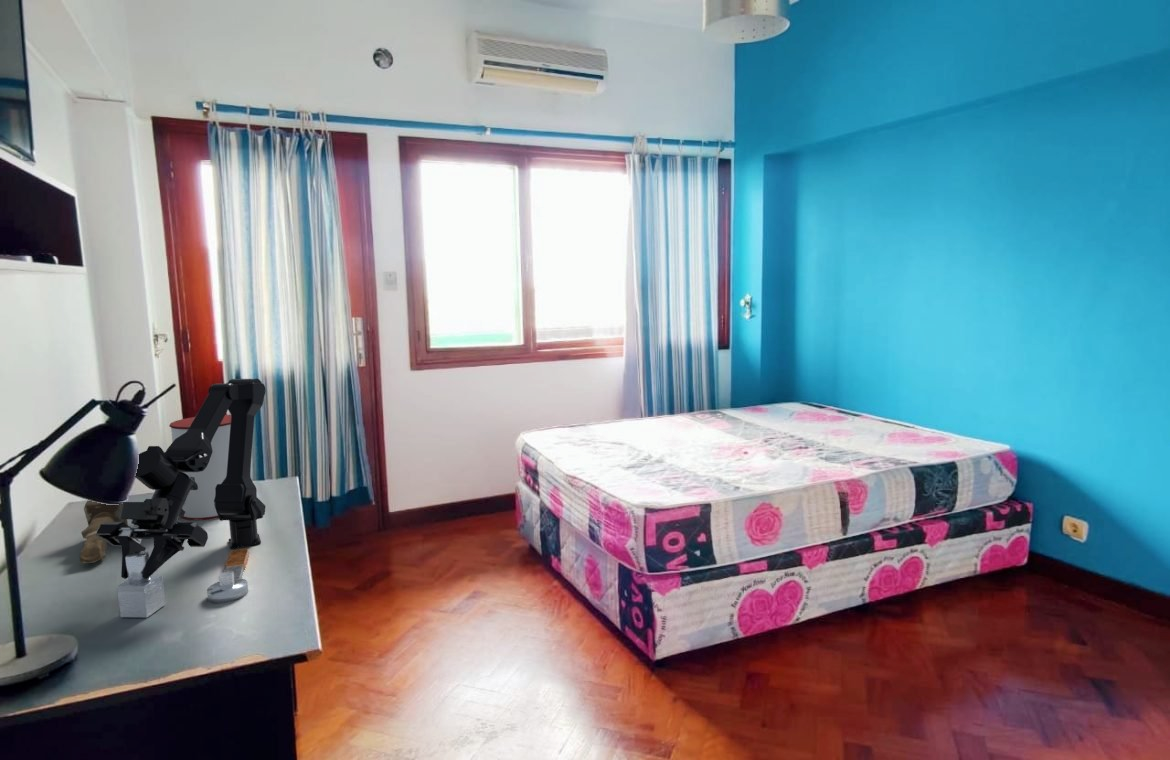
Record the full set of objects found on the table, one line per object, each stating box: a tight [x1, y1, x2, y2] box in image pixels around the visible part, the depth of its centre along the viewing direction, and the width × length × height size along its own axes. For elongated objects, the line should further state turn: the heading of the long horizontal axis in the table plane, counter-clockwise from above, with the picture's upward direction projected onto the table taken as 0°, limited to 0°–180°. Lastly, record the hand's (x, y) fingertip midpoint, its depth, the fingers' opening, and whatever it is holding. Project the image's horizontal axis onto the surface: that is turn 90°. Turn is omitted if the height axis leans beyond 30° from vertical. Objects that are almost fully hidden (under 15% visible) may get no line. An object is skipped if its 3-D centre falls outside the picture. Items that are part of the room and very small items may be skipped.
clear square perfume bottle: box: [116, 550, 167, 618], centre depth 123 cm, size 5×5×11 cm
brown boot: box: [79, 500, 129, 564], centre depth 154 cm, size 8×22×15 cm
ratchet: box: [206, 548, 250, 605], centre depth 137 cm, size 23×7×4 cm, turn 21°
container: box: [169, 414, 231, 521], centre depth 180 cm, size 17×17×25 cm
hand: (134, 578), depth 121 cm, fingers closed on clear square perfume bottle, 4 cm apart
